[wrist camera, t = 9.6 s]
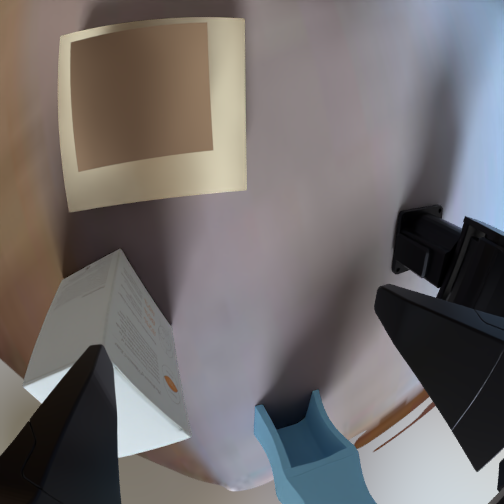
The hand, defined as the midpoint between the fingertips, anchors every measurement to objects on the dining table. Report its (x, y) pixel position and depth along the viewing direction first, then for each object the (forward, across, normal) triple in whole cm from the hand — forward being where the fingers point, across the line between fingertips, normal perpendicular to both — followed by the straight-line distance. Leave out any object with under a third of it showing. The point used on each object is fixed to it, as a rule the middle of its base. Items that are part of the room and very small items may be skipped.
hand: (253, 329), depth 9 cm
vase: (+13, -6, +27) cm, 30 cm away
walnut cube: (+9, +3, -7) cm, 12 cm away
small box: (+13, +7, +6) cm, 16 cm away
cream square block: (+13, +2, -7) cm, 15 cm away
